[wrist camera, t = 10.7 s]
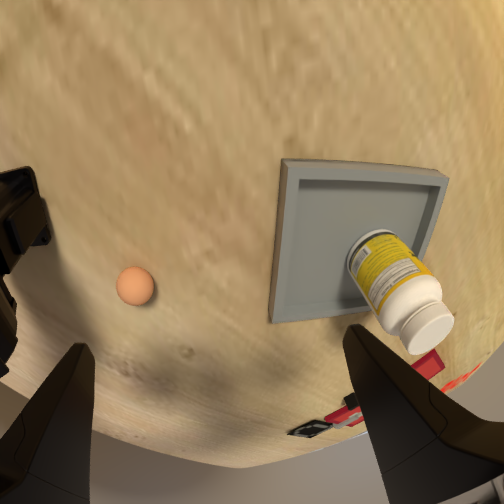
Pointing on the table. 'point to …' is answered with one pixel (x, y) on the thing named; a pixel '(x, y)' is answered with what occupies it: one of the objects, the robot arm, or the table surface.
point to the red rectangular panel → (352, 411)
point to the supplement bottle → (400, 290)
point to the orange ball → (134, 286)
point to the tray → (342, 229)
